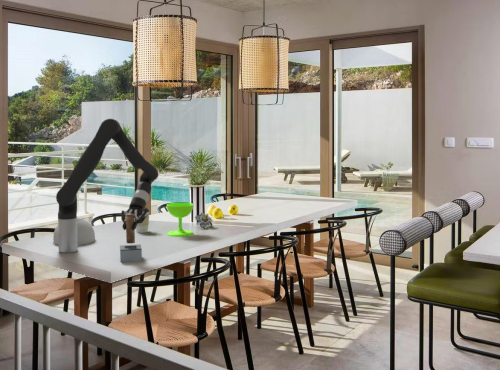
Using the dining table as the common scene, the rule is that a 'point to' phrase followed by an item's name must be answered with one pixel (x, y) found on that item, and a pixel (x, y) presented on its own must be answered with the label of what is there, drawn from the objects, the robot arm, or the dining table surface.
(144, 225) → the coffee cup
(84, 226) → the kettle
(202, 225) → the passion flower
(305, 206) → the dining table surface
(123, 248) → the collar
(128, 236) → the walnut peg
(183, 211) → the wineglass
